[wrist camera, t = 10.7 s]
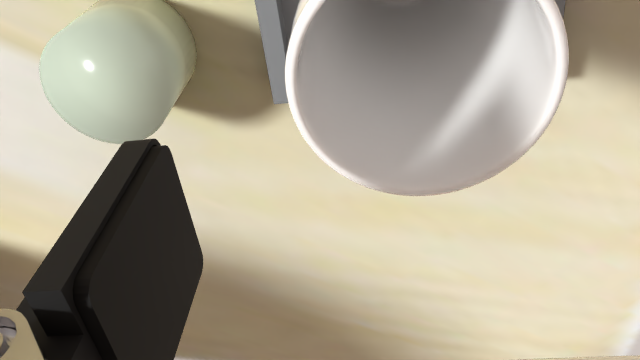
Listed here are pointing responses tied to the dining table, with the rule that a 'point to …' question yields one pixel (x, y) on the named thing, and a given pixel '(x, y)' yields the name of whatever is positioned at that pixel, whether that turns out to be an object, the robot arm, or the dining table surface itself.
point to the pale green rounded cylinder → (118, 68)
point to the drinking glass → (424, 87)
